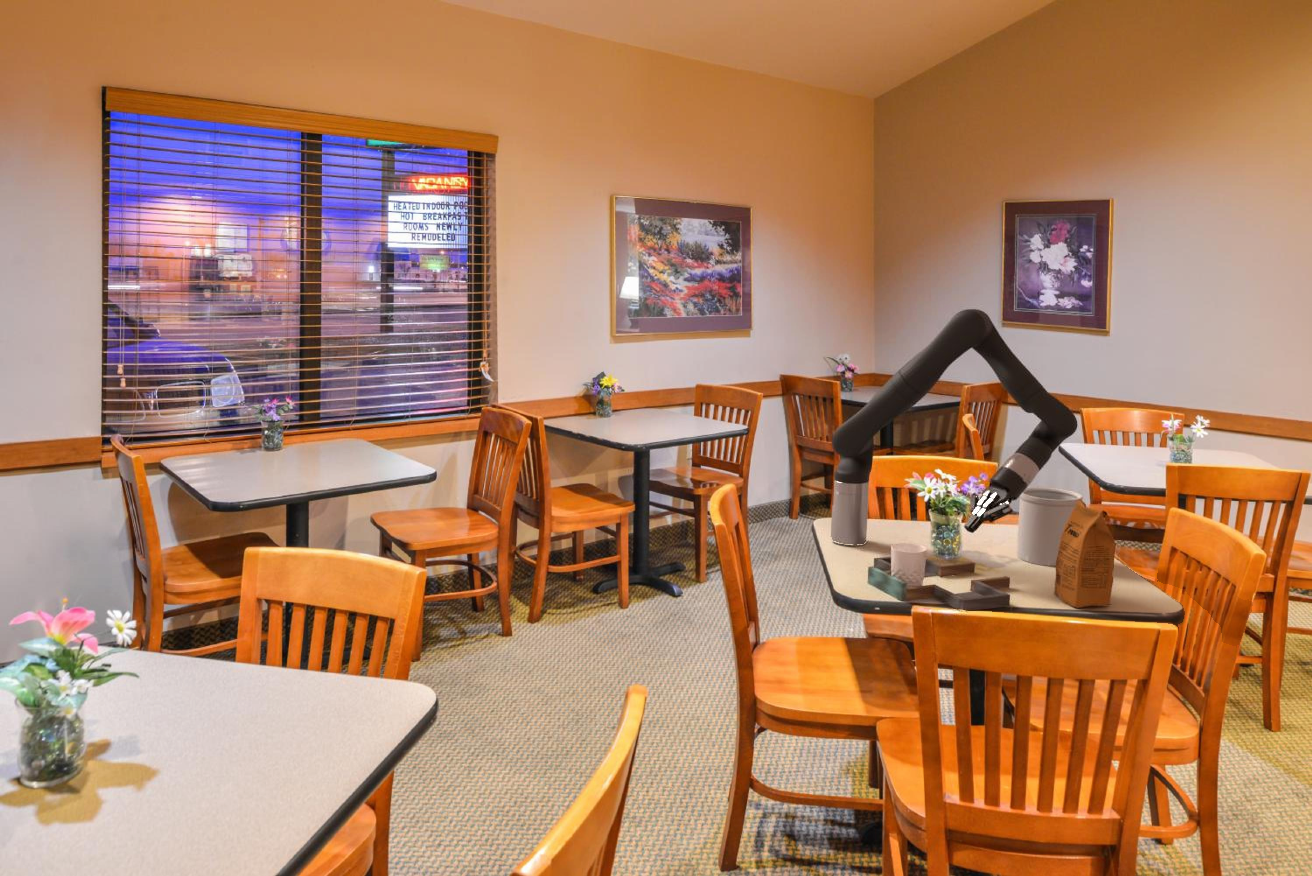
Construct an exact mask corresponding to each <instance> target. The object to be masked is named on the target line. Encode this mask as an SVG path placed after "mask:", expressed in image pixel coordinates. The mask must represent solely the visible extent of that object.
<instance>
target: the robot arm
mask: <svg viewBox="0 0 1312 876" xmlns="http://www.w3.org/2000/svg"><path fill="white" fill-rule="evenodd" d="M971 349H973V351H975V352H976V353H978V355H980V356H981V357H982V358H983V359H984V360H985V361H986V364H988V365H989V366H990V368H991V369H992V371H993V372H994V374H995V376H996V378H998V380H999V382H1000V383H1001V385H1002V387H1003V388H1004V389H1005V391H1007V393H1008V394H1009V396H1010V397H1011V398H1012V399H1013V401H1014V402H1016V404H1017V405H1018V406H1019V408H1020V409H1022V411H1024V412H1025V413H1027V414H1034V416H1036V417H1037V418H1038V419H1039V420H1040V421H1039V423H1038V424H1037V425H1036V426H1035V428H1034V429H1033V431H1032V432H1031V433H1030V435H1029V436H1028V438H1027V439H1026V440H1025V441H1024V442H1023V443H1022V444H1020V446H1019V447H1018V448H1017V449H1016V450H1015V452H1014V453H1013V454H1012V455H1011V456H1009V457H1008V458H1007V459H1006V460H1005V461H1004V463H1003V464H1002V465H1001V466H1000V467H999V468H998V470H997V471H996V472H995V473H994V474H993V475H992V476H991V478H990V479H989V481H988V482H989V486H988V487H986V488H985V489H983V490H982V492H981V493H976V492H972V493H971V494H970V501H969V509H968V510H969V512H971V516H970V517H969V518H968V519H967V521H966V522H965V523H964V526H963V528H964V529H965V531H967V532H968V533H971V534H973V533H974V532H975V531H977V530H978V529H979V528H980V527H981V525H983V523H986V522H989V523H993V522H995V521H997V520H1000V519H1002V518H1003V517H1005V516H1007V515H1010V514H1012V513H1013V512H1014V509H1013V508H1012V507H1011V504H1012V501H1013V502H1014V501H1017V499H1019V498H1020V495H1021V494H1022V493H1023V491H1024V490H1025V489H1026V488H1029V486H1030V485H1031V483H1032V482H1033V481H1034V480H1035V478H1036V477H1037V476H1038V474H1039V473H1040V471H1041V470H1042V469H1043V468H1044V467H1045V466H1046V464H1047V463H1048V462H1049V460H1050V459H1051V457H1052V454H1053V453H1054V452H1055V451H1056V449H1057V448H1058V447H1059V446H1060V445H1061V444H1063V442H1064V441H1066V440H1067V439H1068V438H1069V437H1071V436H1073V435H1075V433H1076V431H1077V429H1078V419H1077V417H1076V415H1075V414H1074V412H1073V411H1072V410H1071V409H1070V408H1069V407H1068V406H1067V405H1066V404H1064V403H1063V402H1062V401H1060V400H1059V399H1058V398H1057V397H1055V396H1054V395H1052V394H1050V392H1048V390H1046V388H1045V387H1044V386H1043V385H1042V384H1041V382H1040V381H1039V380H1038V378H1036V376H1034V374H1032V373H1031V371H1030V370H1029V369H1028V368H1027V367H1026V366H1025V365H1024V364H1023V362H1022V361H1020V359H1019V358H1018V357H1017V355H1016V354H1015V353H1013V351H1012V350H1011V348H1010V347H1009V346H1008V344H1007V343H1006V342H1005V340H1004V339H1003V338H1002V336H1001V334H1000V332H999V331H998V330H997V328H996V326H995V325H994V322H993V321H992V319H991V318H990V317H989V315H988V313H986V312H984V311H983V310H980V309H976V308H970V309H969V308H967V309H962V310H960V311H959V312H957V313H956V314H954V315H953V316H952V317H951V318H950V319H949V321H948V322H947V323H946V325H945V326H944V327H943V328H942V330H940V332H939V333H938V334H937V335H936V337H934V339H933V340H932V341H930V343H929V344H928V345H927V346H925V347H924V348H923V349H922V350H921V351H920V352H918V353H917V354H916V355H914V356H913V357H912V358H911V359H910V360H909V361H908V362H906V364H904V365H903V366H902V367H901V368H900V369H898V370H897V372H895V373H894V374H893V375H892V377H890V379H888V380H887V382H885V383H884V384H883V386H881V388H880V389H879V390H878V391H877V392H876V393H875V394H874V395H873V396H872V398H871V399H870V400H869V401H868V402H867V403H866V404H865V405H864V406H863V407H862V408H861V409H860V410H859V411H858V412H856V413H855V414H853V415H852V416H851V417H850V418H849V419H847V420H846V421H845V422H843V423H842V424H840V425H839V426H838V427H837V428H835V430H834V433H833V435H832V439H831V445H832V446H831V447H832V449H833V451H834V453H836V454H837V455H839V461H838V464H837V466H836V468H835V470H834V482H833V483H834V485H833V486H834V487H833V504H832V506H831V526H830V529H831V530H830V538H831V537H832V539H831V541H832V540H833V541H836V542H839V543H843V544H853V545H857V544H864V543H865V542H866V543H867V534H868V533H867V530H868V512H869V511H868V510H869V493H870V492H869V491H870V490H869V489H870V488H869V487H870V476H871V472H872V469H873V460H874V448H875V445H874V444H875V443H874V442H875V438H874V437H875V436H876V434H878V433H879V431H881V430H882V429H883V428H884V427H886V426H887V425H889V424H890V423H891V422H893V421H894V420H896V419H897V418H899V417H900V416H902V415H904V414H905V413H906V412H908V411H909V410H910V409H911V408H913V407H914V406H915V405H916V404H917V403H919V401H921V400H922V399H923V398H924V397H925V396H926V395H927V394H928V393H929V392H930V391H931V390H932V389H933V388H934V386H935V385H937V383H938V381H939V380H940V378H941V377H942V376H943V374H944V373H945V372H946V370H948V368H949V367H950V366H951V365H952V364H953V363H954V362H955V361H956V360H957V359H959V358H960V357H961V356H962V355H964V354H965V353H966V352H968V351H969V350H971ZM864 545H865V544H864Z"/></svg>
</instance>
